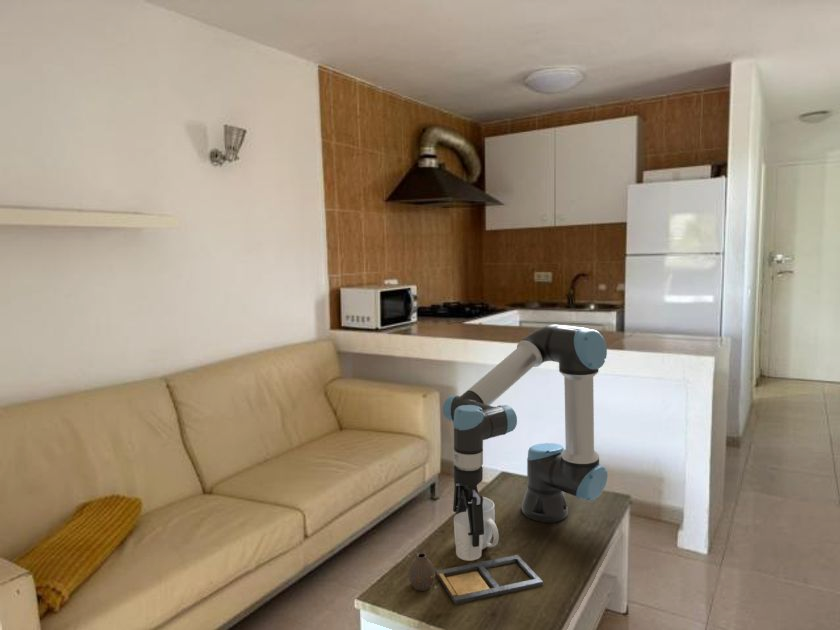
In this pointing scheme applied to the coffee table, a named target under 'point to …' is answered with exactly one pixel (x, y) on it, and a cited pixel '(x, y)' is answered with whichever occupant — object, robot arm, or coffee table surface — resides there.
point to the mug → (489, 524)
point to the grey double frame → (475, 586)
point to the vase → (421, 572)
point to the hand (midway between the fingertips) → (467, 548)
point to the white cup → (463, 536)
